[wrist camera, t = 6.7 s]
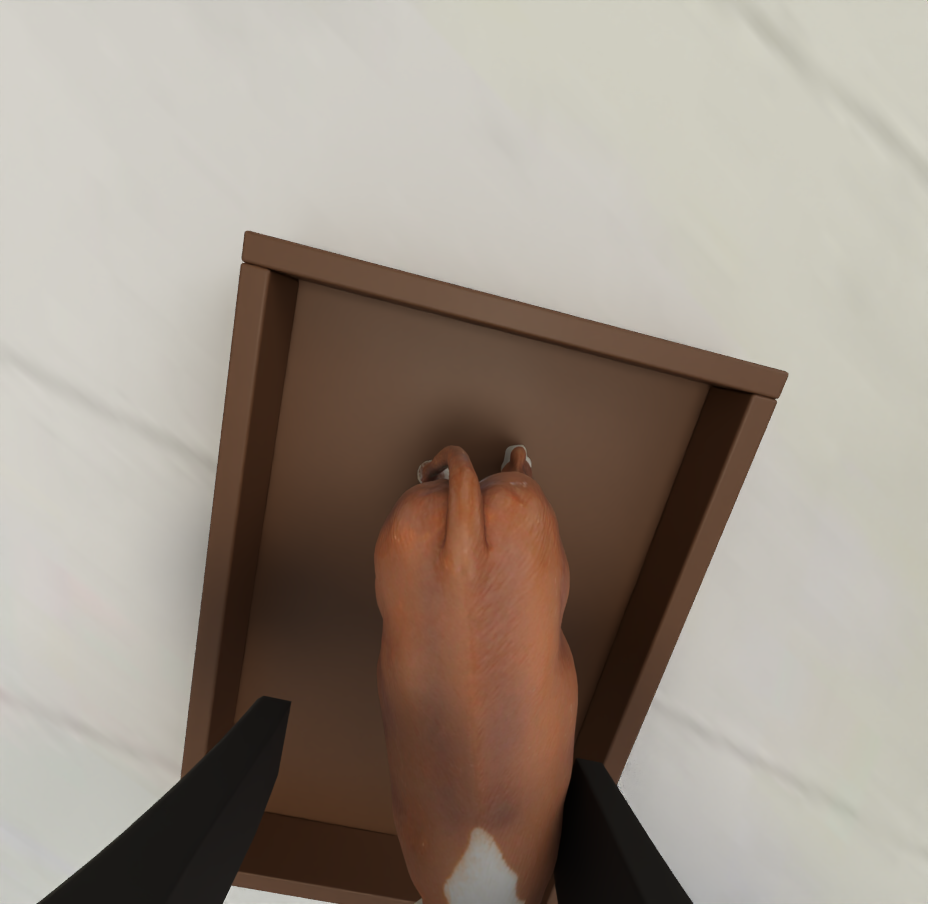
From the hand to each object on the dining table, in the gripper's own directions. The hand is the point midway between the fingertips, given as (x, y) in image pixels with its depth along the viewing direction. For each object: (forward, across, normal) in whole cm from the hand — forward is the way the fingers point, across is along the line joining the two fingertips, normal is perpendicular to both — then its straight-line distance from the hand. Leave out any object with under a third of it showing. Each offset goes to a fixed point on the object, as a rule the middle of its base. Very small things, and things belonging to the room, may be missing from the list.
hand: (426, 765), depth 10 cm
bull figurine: (+5, -1, -1) cm, 6 cm away
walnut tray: (+6, 0, 0) cm, 6 cm away
